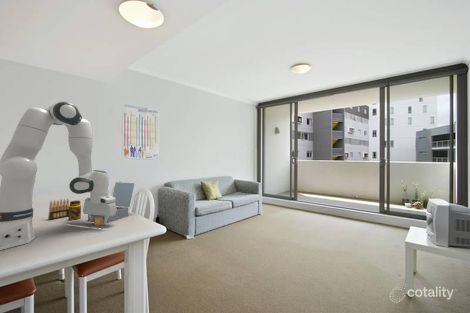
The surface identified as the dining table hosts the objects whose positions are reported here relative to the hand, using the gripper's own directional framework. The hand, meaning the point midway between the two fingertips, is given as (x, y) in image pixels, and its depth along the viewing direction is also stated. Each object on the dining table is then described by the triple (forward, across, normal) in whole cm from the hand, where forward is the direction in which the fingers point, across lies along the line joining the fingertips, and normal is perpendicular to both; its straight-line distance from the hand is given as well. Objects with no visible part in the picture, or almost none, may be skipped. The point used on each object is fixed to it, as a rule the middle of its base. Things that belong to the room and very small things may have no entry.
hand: (98, 222), depth 123 cm
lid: (-13, -5, +22) cm, 26 cm away
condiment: (+2, -24, +4) cm, 24 cm away
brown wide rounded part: (+2, 0, 0) cm, 2 cm away
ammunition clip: (+2, -37, +5) cm, 37 cm away
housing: (+2, -5, +12) cm, 13 cm away
